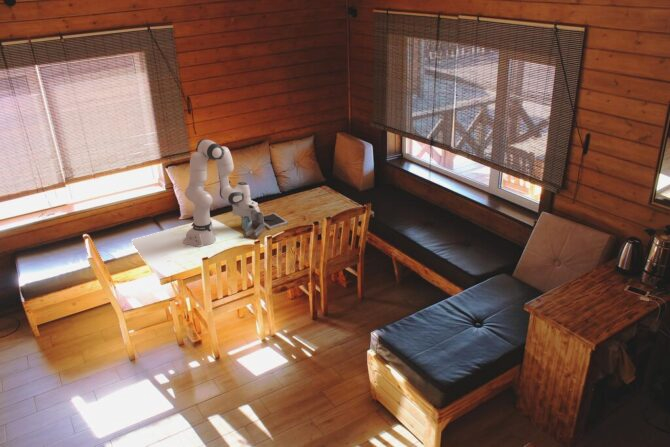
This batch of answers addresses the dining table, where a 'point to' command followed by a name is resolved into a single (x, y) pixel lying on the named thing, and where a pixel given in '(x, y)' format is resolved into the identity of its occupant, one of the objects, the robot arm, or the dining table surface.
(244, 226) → the book
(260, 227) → the book rack
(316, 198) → the dining table surface
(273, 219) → the picture frame
